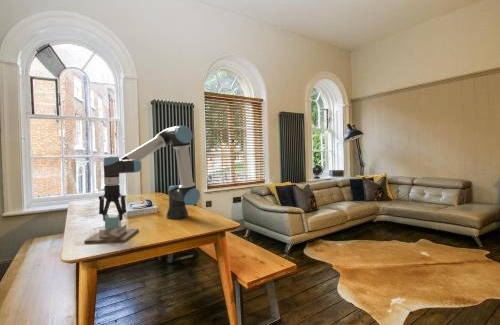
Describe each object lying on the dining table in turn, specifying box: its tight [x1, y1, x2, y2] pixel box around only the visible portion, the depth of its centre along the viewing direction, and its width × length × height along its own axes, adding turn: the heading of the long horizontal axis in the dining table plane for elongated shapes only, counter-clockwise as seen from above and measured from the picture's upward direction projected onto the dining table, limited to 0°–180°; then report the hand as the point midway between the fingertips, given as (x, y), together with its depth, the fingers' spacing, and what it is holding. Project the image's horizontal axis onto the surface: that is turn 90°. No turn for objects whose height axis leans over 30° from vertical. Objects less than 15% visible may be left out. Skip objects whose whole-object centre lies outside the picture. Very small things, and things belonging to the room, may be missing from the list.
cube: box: [104, 214, 118, 229], centre depth 146 cm, size 6×6×6 cm
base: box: [83, 224, 140, 245], centre depth 146 cm, size 20×20×6 cm
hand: (113, 226), depth 146 cm, fingers open, 6 cm apart
